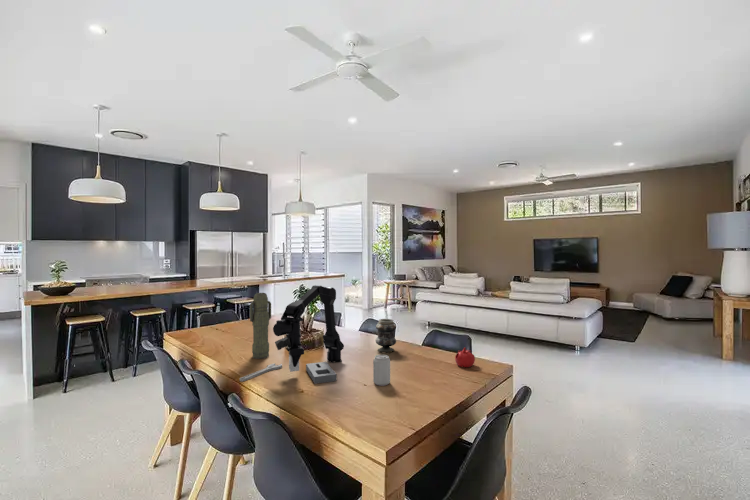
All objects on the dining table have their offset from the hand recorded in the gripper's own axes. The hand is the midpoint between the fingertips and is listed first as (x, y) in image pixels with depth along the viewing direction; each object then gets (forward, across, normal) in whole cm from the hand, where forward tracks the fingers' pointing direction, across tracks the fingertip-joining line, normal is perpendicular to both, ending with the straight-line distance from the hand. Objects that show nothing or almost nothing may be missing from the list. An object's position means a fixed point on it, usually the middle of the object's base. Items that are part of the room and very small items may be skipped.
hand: (294, 365), depth 174 cm
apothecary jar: (+6, -26, +57) cm, 63 cm away
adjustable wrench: (+6, -12, -14) cm, 19 cm away
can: (+6, +22, +35) cm, 42 cm away
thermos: (+6, -40, -12) cm, 42 cm away
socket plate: (+5, +2, +12) cm, 13 cm away
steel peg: (+2, 0, 0) cm, 2 cm away
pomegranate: (+6, +14, +84) cm, 85 cm away
